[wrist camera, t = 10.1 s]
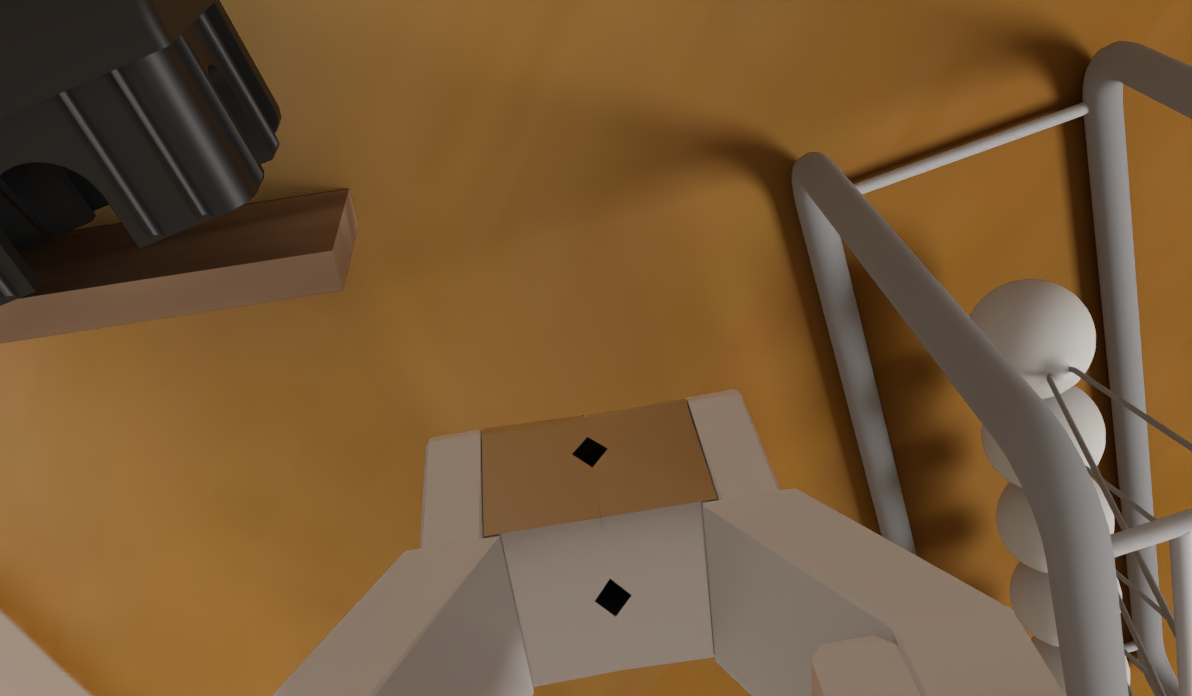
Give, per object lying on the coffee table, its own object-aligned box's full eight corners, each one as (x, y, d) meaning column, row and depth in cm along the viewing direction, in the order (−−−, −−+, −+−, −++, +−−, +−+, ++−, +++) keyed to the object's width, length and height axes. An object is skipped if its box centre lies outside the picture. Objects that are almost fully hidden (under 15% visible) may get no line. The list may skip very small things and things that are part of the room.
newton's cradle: (1156, 662, 47) (1492, 1110, 31) (931, 733, 47) (1151, 1203, 32) (1104, 18, 32) (1704, 274, 16) (775, 138, 32) (1050, 490, 17)
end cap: (168, -130, 27) (86, -96, 21) (304, 117, 30) (265, 204, 25) (-164, 19, 28) (-332, 91, 22) (5, 242, 31) (-101, 355, 26)
